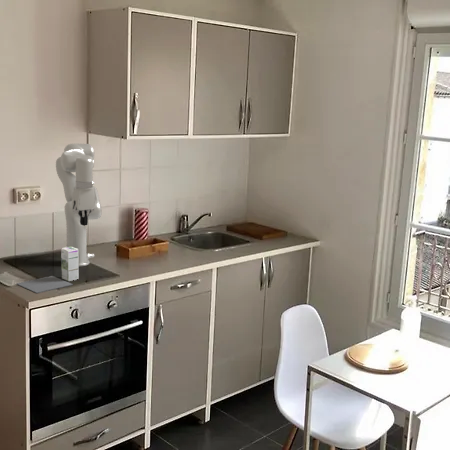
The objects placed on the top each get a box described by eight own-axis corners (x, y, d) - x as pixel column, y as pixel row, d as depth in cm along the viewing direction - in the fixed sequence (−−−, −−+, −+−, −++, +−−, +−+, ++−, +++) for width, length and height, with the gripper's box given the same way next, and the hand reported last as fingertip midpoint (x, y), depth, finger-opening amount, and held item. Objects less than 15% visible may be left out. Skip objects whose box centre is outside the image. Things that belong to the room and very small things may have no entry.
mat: (52, 276, 284) (52, 275, 284) (72, 285, 274) (72, 284, 274) (16, 284, 271) (16, 283, 271) (36, 293, 261) (36, 292, 261)
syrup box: (79, 279, 282) (79, 248, 279) (68, 281, 278) (68, 250, 275) (71, 276, 286) (71, 245, 283) (60, 278, 282) (60, 247, 279)
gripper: (92, 182, 287) (92, 221, 290) (65, 185, 275) (65, 225, 279) (102, 184, 282) (102, 224, 286) (75, 187, 271) (75, 228, 274)
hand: (83, 224), depth 282 cm, fingers closed
